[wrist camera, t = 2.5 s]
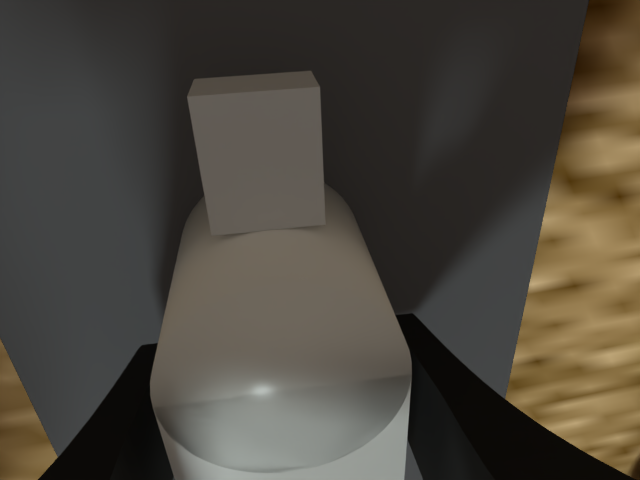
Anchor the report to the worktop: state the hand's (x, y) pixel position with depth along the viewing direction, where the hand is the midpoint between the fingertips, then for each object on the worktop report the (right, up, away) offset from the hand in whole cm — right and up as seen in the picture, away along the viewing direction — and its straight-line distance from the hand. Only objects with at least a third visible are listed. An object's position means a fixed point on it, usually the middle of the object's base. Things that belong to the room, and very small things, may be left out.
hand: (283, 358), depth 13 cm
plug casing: (0, +2, 0) cm, 2 cm away
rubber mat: (0, +1, +1) cm, 2 cm away
